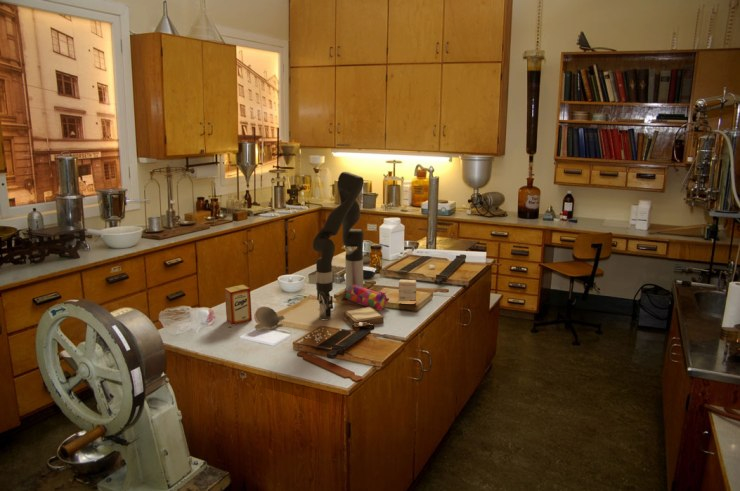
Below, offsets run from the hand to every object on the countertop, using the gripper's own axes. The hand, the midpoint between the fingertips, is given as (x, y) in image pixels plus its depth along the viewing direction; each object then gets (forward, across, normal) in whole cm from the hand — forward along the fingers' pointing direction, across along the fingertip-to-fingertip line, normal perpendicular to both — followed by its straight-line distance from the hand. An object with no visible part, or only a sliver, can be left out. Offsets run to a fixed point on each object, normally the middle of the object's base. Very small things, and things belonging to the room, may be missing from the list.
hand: (325, 313), depth 262 cm
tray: (+2, -10, -15) cm, 18 cm away
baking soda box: (+3, +14, +37) cm, 40 cm away
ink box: (+3, +1, -44) cm, 44 cm away
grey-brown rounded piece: (+3, +2, +27) cm, 27 cm away
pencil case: (+3, +7, -25) cm, 26 cm away
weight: (+2, 0, 0) cm, 2 cm away
